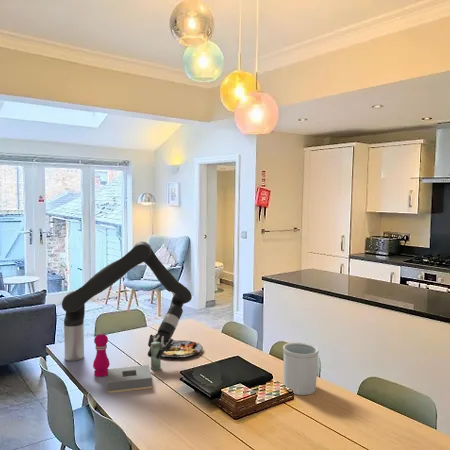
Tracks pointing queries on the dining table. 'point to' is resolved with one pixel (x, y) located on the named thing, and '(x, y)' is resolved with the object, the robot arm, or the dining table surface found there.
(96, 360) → the pepper mill
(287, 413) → the dining table surface
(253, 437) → the dining table surface
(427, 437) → the dining table surface
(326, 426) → the dining table surface
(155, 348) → the sage pin
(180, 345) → the food plate
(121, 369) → the pin block
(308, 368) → the utensil holder
